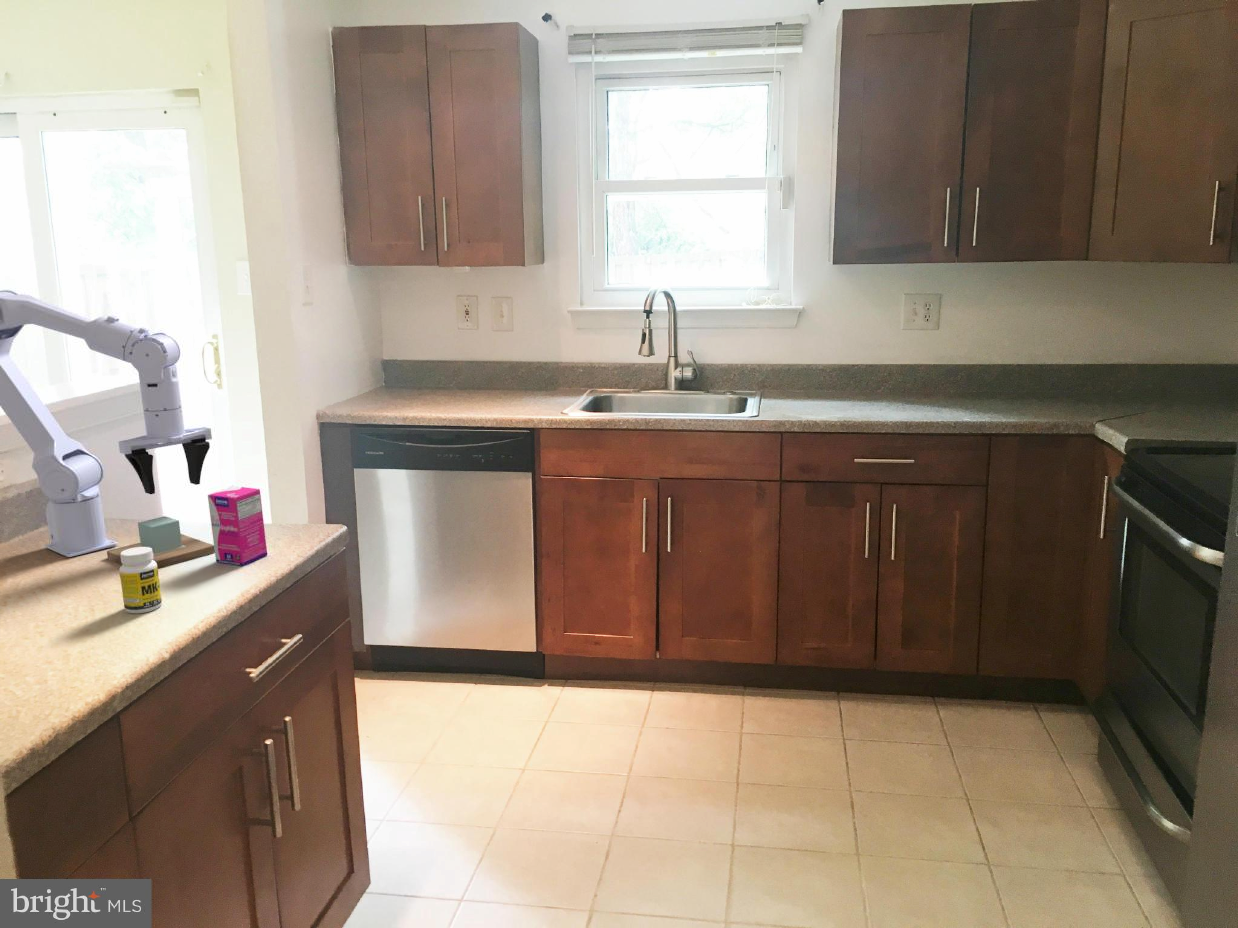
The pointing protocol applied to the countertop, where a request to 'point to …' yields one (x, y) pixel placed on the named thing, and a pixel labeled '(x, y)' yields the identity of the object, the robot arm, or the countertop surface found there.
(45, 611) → the countertop surface
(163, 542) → the teal cube
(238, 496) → the supplement box
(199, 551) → the plate
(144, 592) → the supplement bottle
